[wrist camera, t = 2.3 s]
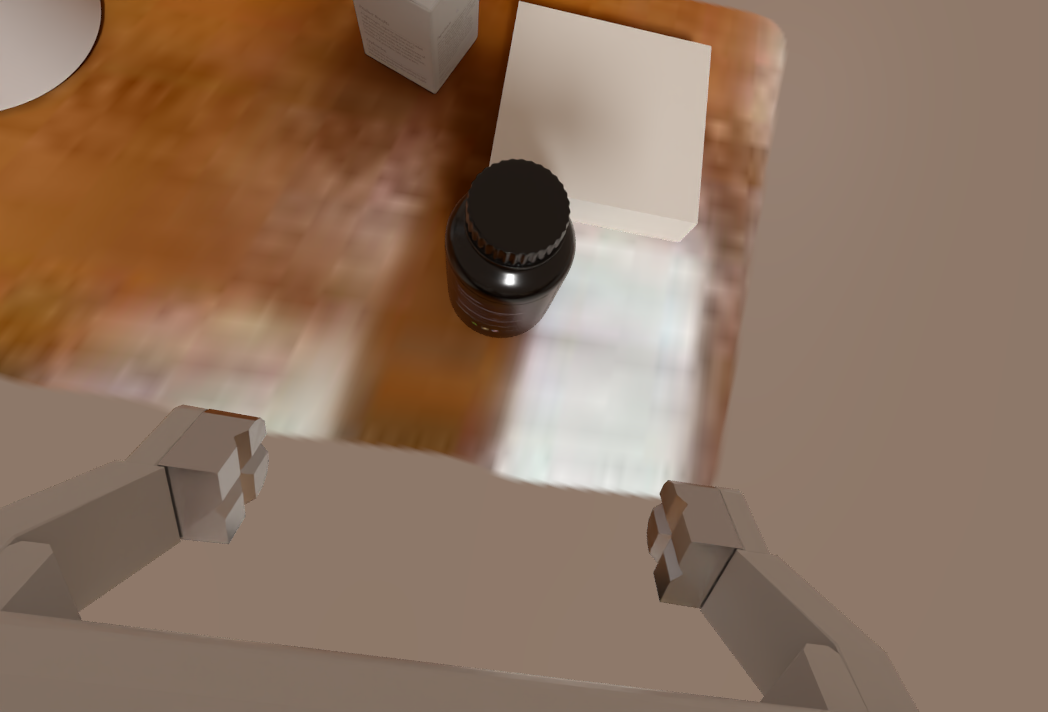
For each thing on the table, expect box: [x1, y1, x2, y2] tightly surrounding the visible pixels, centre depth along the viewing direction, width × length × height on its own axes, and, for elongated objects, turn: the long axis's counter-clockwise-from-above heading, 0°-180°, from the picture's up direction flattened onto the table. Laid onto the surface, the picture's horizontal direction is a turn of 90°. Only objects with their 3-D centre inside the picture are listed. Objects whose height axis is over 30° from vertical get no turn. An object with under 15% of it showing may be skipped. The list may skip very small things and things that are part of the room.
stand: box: [489, 1, 711, 243], centre depth 38 cm, size 14×14×3 cm
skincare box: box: [353, 0, 479, 94], centre depth 36 cm, size 6×6×7 cm
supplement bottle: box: [445, 159, 576, 338], centre depth 30 cm, size 7×7×12 cm
